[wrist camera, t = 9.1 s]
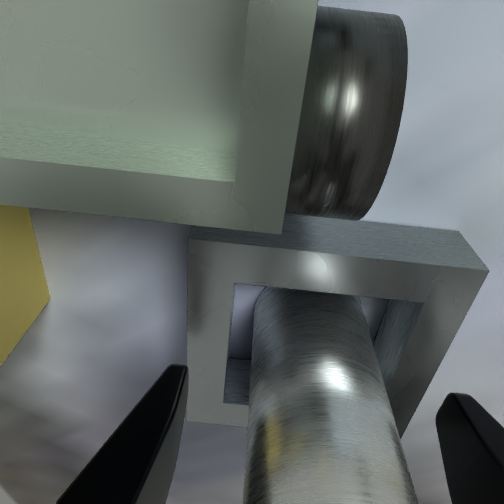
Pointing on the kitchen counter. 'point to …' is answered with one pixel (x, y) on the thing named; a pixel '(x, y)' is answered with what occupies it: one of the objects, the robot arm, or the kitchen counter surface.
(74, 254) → the kitchen counter surface
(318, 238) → the socket
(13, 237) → the block
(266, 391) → the pin
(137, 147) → the trolley
